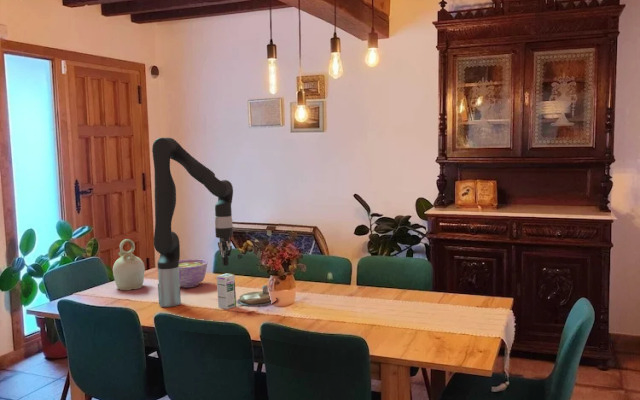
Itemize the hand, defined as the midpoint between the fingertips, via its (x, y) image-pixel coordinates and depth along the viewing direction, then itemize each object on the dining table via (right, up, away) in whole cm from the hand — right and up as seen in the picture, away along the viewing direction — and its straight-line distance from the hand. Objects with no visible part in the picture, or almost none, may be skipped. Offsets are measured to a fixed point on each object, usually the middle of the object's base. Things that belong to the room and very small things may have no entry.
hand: (225, 265), depth 265 cm
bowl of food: (-25, -15, +42) cm, 52 cm away
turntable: (+13, -17, +10) cm, 24 cm away
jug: (-55, -16, +42) cm, 71 cm away
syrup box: (+1, -19, +2) cm, 19 cm away
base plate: (+13, -17, +10) cm, 24 cm away
